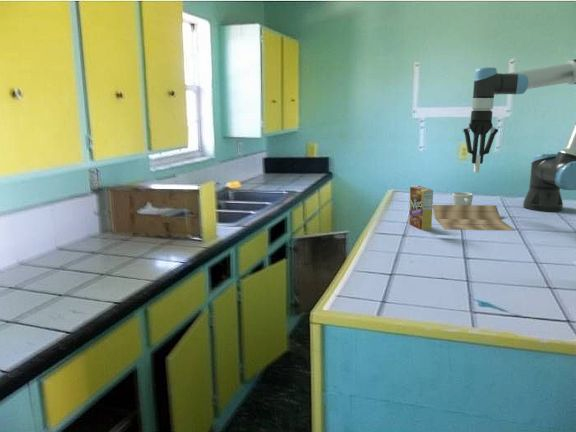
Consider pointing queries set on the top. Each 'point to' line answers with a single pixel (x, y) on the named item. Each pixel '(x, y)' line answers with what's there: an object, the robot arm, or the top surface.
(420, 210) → the candy box
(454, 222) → the laid panel
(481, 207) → the plank
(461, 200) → the cup
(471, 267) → the top surface
